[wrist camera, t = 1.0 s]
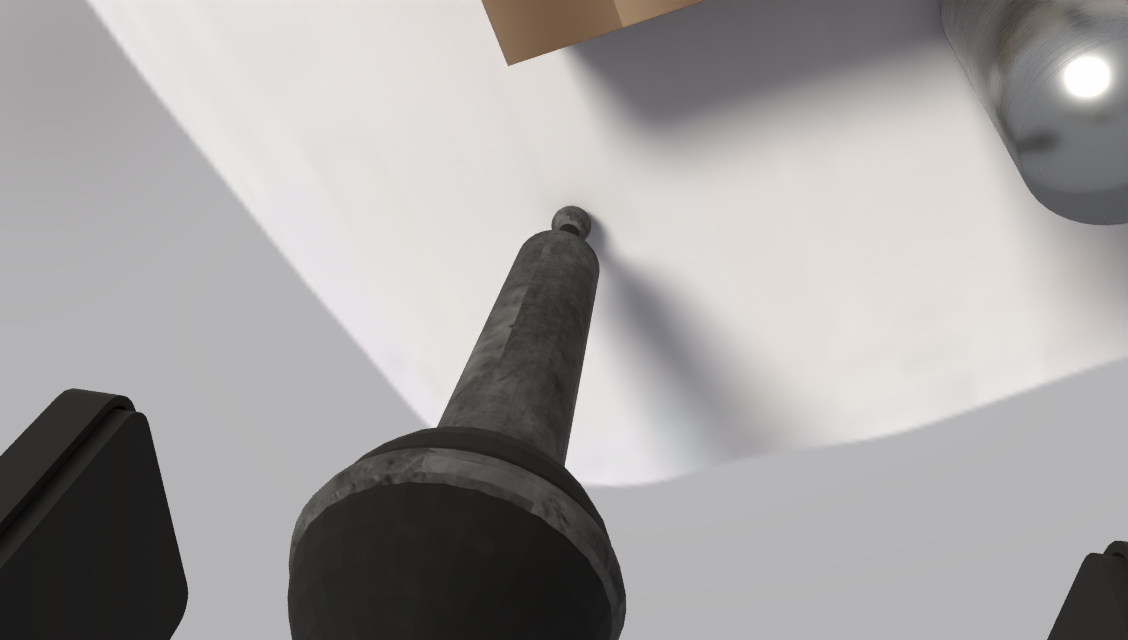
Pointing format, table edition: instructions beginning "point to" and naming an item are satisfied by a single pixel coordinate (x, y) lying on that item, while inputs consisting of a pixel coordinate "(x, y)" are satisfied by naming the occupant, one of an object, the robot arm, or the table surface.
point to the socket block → (564, 22)
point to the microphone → (476, 490)
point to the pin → (1054, 95)
